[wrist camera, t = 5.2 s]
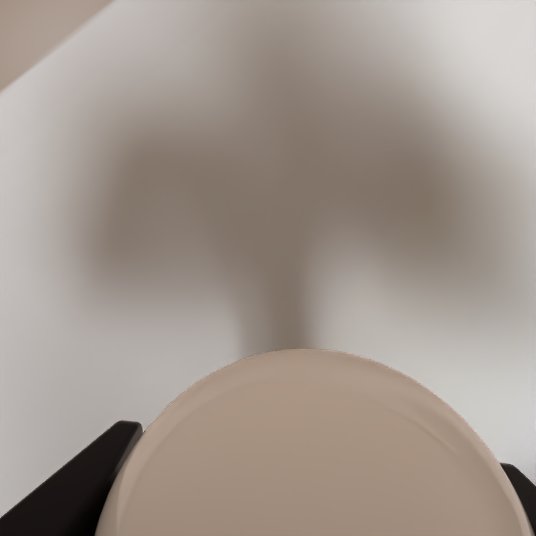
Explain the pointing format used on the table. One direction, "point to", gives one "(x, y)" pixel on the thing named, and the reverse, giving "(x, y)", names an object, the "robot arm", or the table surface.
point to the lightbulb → (311, 458)
